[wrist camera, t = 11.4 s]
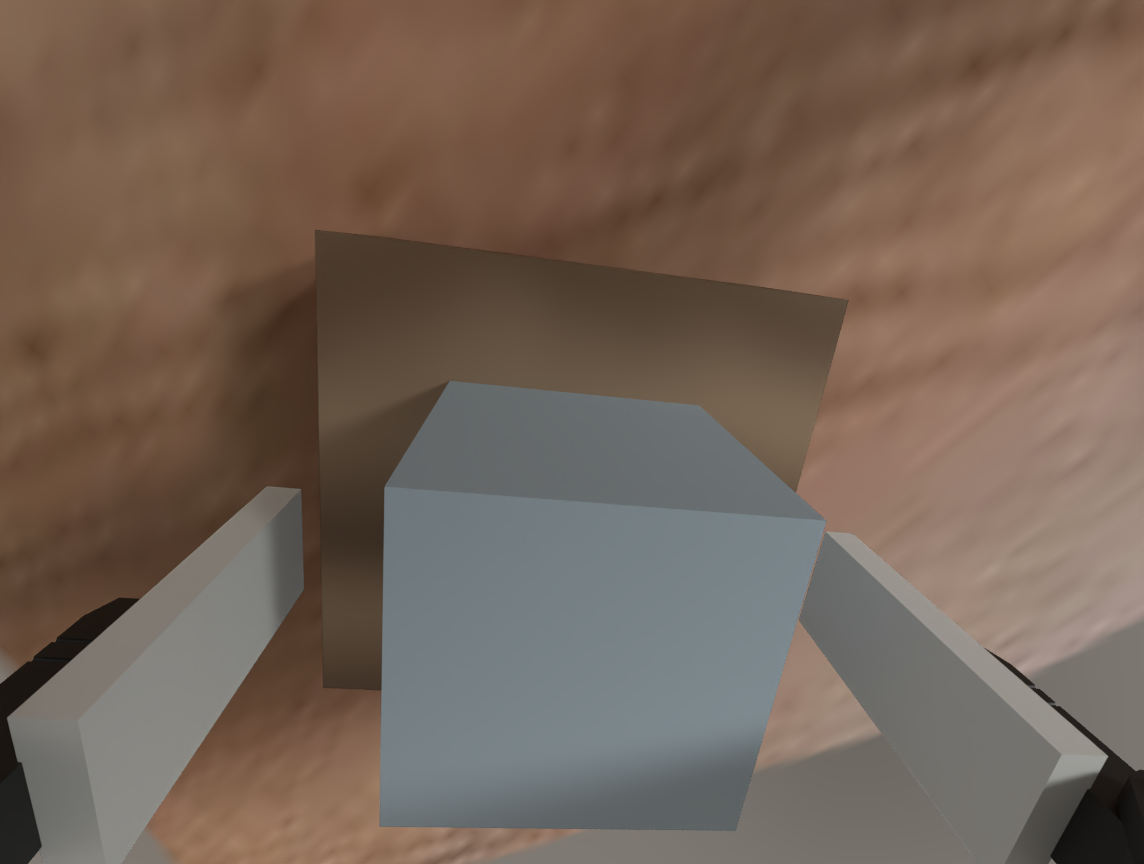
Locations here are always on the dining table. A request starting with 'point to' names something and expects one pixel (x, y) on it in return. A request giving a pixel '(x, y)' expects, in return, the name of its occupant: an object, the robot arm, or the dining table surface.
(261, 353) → the dining table surface
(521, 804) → the slate cube
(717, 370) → the walnut block
